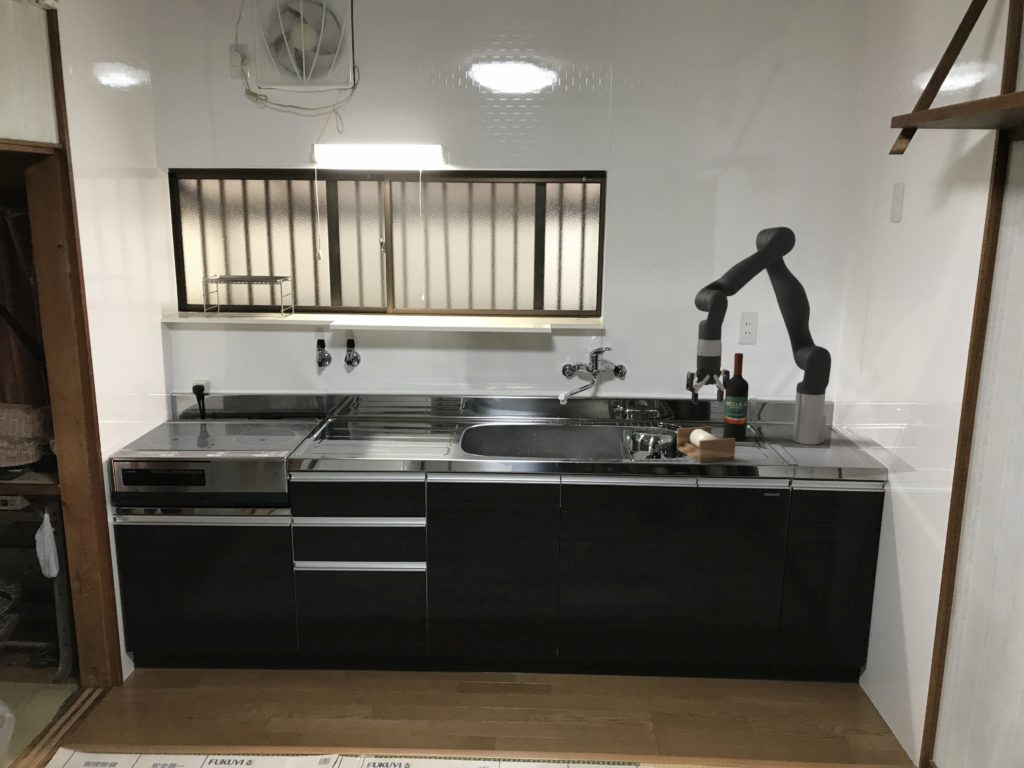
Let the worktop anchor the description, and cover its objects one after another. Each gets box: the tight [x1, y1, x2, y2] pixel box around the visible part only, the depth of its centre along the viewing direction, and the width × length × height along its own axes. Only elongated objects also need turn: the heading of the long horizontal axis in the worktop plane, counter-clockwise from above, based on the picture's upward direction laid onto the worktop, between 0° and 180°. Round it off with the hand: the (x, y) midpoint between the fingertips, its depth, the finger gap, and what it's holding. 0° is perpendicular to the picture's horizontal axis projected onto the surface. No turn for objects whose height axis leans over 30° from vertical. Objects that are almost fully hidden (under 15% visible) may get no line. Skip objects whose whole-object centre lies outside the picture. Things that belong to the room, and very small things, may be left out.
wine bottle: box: [722, 352, 750, 442], centre depth 260 cm, size 8×8×30 cm
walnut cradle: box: [676, 425, 736, 463], centre depth 245 cm, size 16×12×7 cm
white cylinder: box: [690, 429, 720, 448], centre depth 245 cm, size 10×6×6 cm
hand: (707, 402), depth 242 cm, fingers open, 8 cm apart
